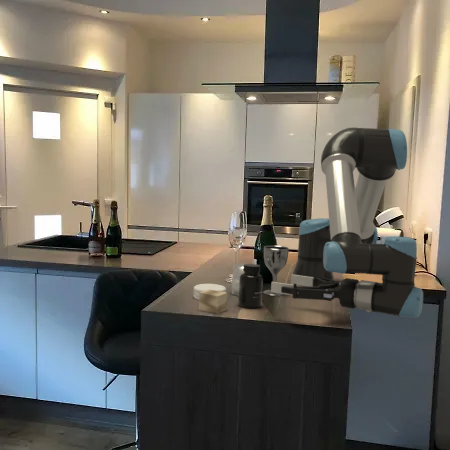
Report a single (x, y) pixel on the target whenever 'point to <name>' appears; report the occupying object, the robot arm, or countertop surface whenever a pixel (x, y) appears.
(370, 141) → the robot arm
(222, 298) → the maple block
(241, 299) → the supplement bottle
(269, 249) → the wine glass
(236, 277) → the frosted glass cup
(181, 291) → the countertop surface
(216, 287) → the brie cheese wheel
